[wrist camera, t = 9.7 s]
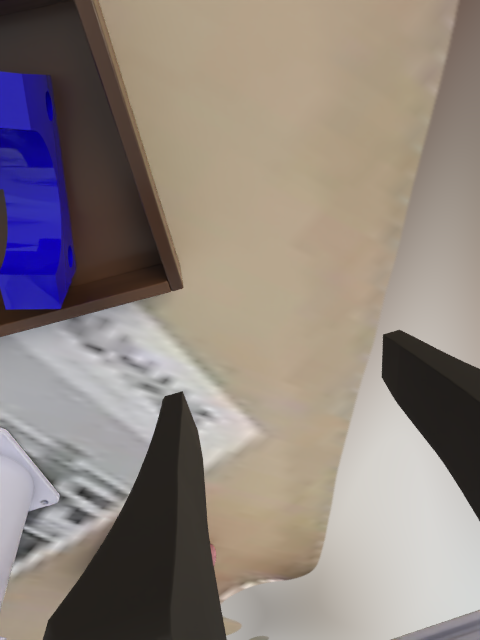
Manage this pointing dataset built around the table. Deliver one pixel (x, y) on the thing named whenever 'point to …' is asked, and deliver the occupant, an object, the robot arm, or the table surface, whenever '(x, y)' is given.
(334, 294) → the table surface
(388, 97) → the table surface
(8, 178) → the cable holder
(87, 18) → the box
